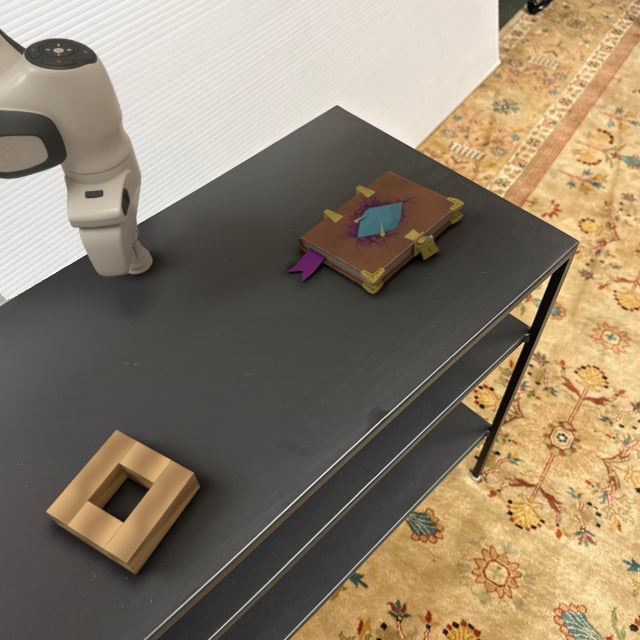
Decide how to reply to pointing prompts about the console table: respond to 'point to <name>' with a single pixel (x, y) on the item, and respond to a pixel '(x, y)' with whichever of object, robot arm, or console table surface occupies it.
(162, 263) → the console table surface
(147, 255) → the rook chess piece
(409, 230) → the book
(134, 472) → the square wooden frame
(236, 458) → the console table surface
